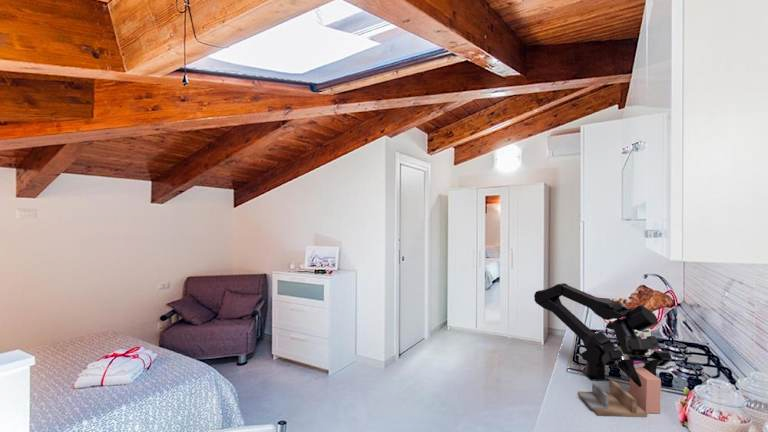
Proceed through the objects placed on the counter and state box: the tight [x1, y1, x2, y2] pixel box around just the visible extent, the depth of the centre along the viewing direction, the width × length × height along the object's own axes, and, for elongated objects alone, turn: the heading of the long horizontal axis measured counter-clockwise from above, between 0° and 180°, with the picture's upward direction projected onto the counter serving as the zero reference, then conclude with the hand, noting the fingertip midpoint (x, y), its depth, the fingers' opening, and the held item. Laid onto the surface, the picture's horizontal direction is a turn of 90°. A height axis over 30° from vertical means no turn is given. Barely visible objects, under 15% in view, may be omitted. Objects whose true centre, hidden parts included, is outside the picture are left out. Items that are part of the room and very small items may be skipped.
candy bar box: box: [616, 328, 653, 379], centre depth 134 cm, size 11×5×16 cm, turn 105°
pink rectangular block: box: [629, 367, 662, 414], centre depth 113 cm, size 8×4×10 cm, turn 177°
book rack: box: [577, 379, 648, 418], centre depth 114 cm, size 12×15×5 cm
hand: (647, 386), depth 112 cm, fingers closed on pink rectangular block, 4 cm apart
